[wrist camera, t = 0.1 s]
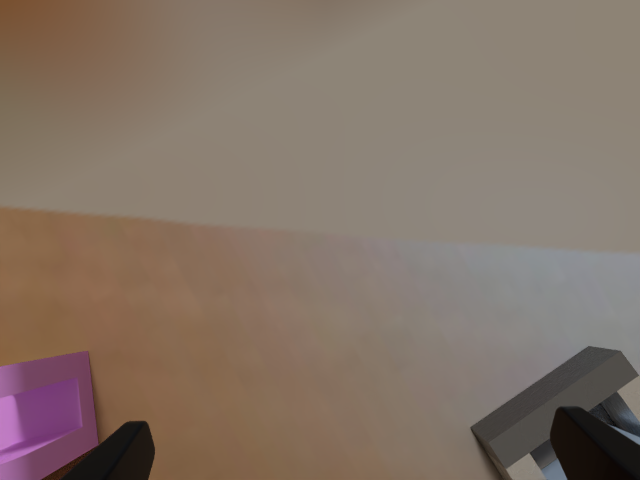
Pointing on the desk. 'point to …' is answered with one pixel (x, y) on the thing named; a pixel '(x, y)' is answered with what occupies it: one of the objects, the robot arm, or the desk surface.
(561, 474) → the block
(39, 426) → the bracket
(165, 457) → the desk surface
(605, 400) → the white u-shaped frame
